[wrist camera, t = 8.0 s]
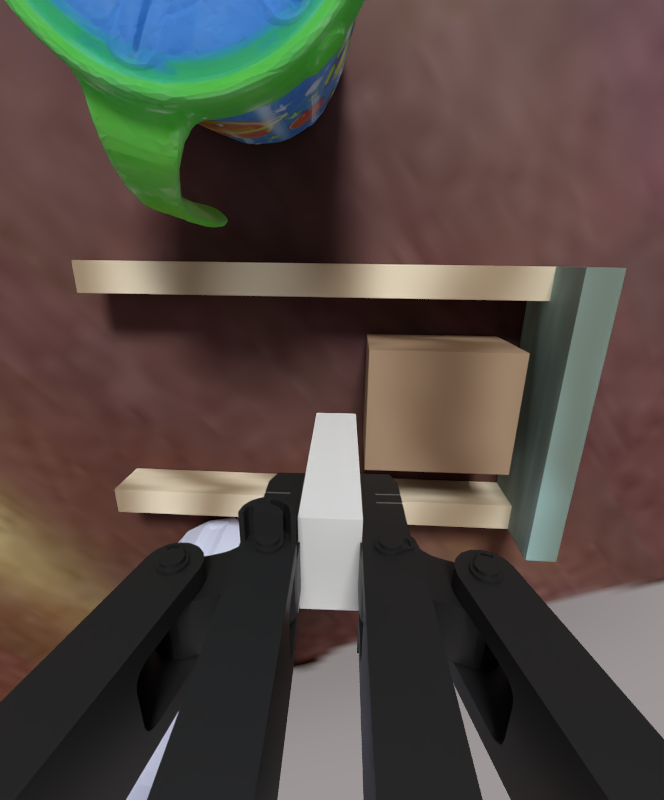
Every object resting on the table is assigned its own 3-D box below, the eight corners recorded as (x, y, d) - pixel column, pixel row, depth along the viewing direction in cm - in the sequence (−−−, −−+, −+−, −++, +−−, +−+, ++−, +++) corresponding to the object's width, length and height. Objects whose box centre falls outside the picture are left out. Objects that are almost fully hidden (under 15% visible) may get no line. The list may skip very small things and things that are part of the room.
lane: (140, 488, 26) (92, 539, 21) (102, 260, 21) (31, 259, 17) (517, 504, 25) (556, 561, 20) (563, 266, 20) (626, 267, 16)
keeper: (362, 433, 24) (364, 469, 20) (366, 333, 22) (369, 350, 18) (481, 436, 24) (509, 474, 19) (495, 335, 22) (529, 353, 17)
